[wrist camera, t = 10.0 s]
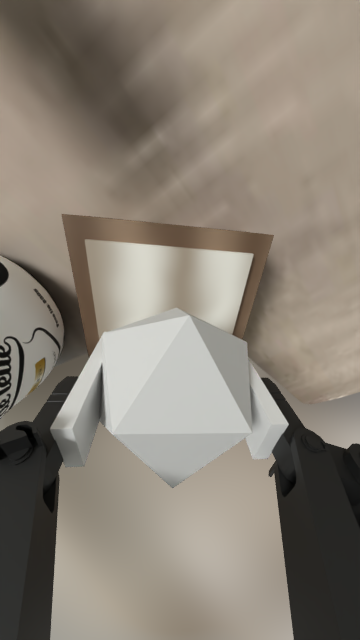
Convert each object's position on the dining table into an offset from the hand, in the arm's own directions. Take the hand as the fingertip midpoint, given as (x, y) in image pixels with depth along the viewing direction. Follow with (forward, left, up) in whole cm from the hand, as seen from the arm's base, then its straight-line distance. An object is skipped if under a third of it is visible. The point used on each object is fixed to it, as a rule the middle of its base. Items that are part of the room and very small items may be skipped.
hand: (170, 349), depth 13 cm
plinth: (0, 0, -10) cm, 10 cm away
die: (0, 0, -1) cm, 1 cm away
